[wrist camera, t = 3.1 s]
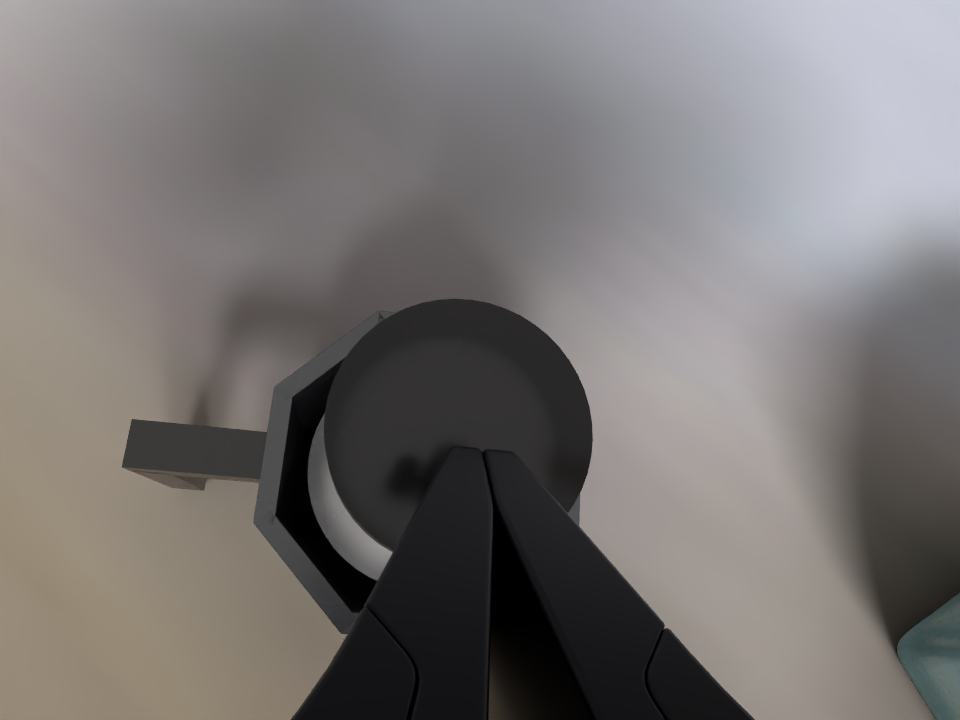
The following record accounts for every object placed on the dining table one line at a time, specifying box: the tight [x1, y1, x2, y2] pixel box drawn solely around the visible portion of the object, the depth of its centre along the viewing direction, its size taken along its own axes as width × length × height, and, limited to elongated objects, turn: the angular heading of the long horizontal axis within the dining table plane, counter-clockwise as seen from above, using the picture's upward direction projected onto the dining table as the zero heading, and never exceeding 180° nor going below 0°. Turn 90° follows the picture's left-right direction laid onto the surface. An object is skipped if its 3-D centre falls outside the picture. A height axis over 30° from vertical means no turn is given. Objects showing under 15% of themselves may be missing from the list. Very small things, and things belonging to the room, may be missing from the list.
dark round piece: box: [308, 299, 593, 581], centre depth 13 cm, size 5×5×6 cm
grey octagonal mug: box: [122, 311, 580, 634], centre depth 17 cm, size 7×10×5 cm
